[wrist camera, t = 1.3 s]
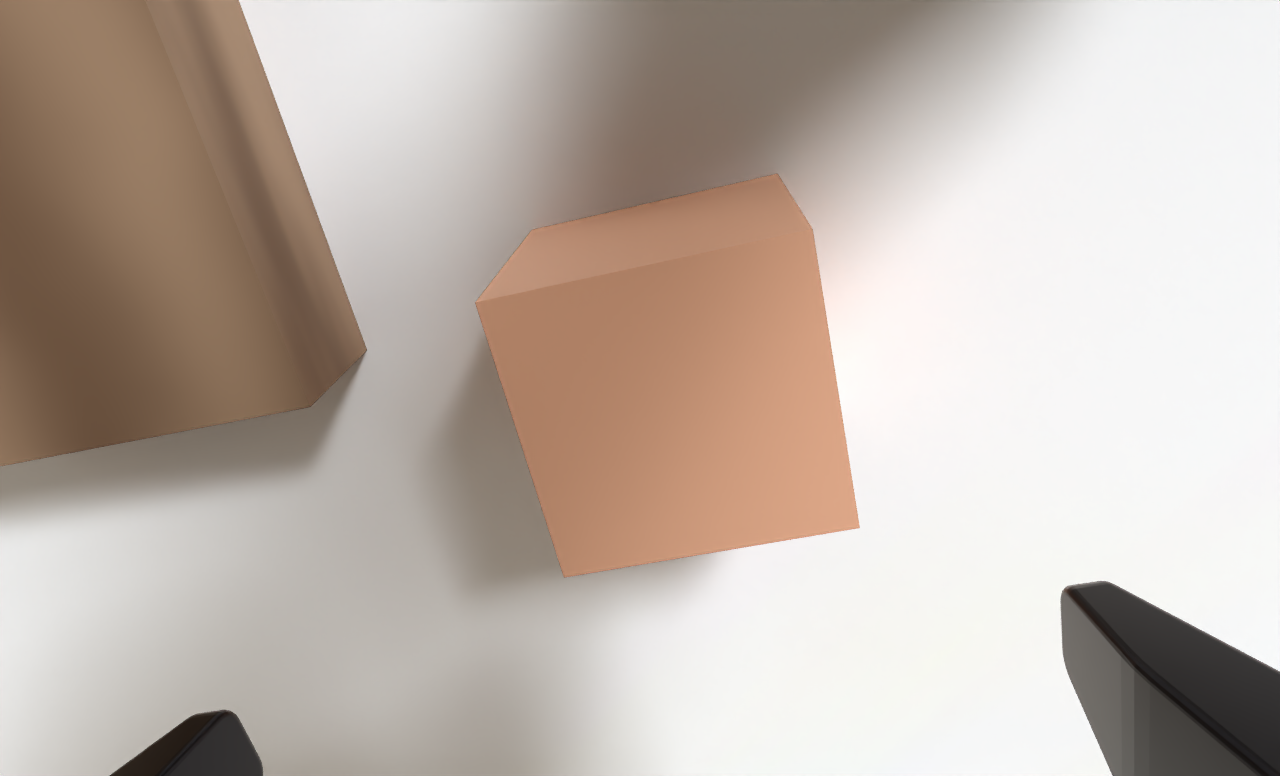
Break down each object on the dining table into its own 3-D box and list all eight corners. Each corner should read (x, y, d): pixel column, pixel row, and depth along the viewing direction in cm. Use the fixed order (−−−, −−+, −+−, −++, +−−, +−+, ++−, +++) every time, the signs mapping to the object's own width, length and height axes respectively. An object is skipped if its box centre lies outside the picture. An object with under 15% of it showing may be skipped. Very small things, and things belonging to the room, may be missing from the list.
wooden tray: (140, -294, 17) (-11, -385, 13) (372, 344, 22) (309, 407, 18) (-273, -163, 18) (-516, -212, 14) (39, 411, 23) (-82, 481, 20)
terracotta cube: (777, 172, 20) (812, 228, 14) (815, 402, 22) (859, 528, 16) (532, 229, 20) (474, 302, 15) (594, 444, 23) (563, 577, 17)
